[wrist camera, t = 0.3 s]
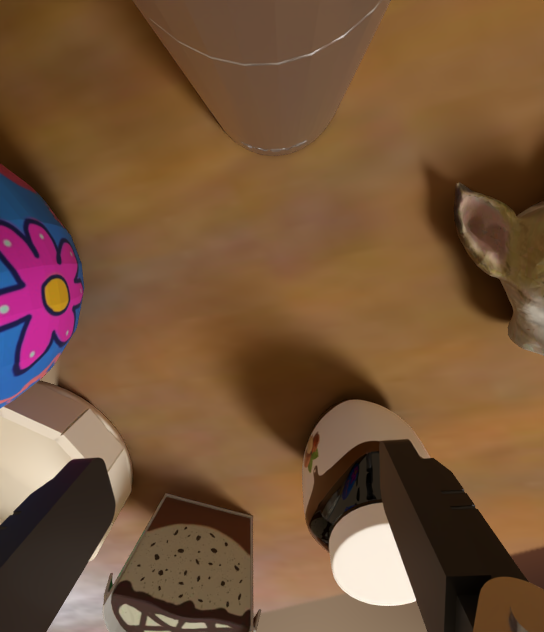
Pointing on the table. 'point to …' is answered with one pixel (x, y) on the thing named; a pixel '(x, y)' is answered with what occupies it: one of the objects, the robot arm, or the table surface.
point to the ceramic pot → (33, 287)
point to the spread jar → (355, 499)
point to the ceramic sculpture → (507, 257)
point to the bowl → (56, 445)
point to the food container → (186, 573)
